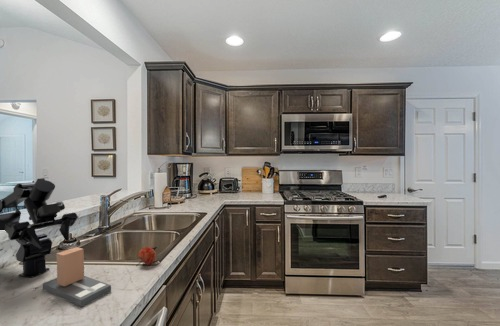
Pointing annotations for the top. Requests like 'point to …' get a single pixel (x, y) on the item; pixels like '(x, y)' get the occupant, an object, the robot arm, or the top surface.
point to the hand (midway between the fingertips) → (55, 243)
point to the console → (78, 290)
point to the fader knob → (70, 266)
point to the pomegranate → (147, 255)
